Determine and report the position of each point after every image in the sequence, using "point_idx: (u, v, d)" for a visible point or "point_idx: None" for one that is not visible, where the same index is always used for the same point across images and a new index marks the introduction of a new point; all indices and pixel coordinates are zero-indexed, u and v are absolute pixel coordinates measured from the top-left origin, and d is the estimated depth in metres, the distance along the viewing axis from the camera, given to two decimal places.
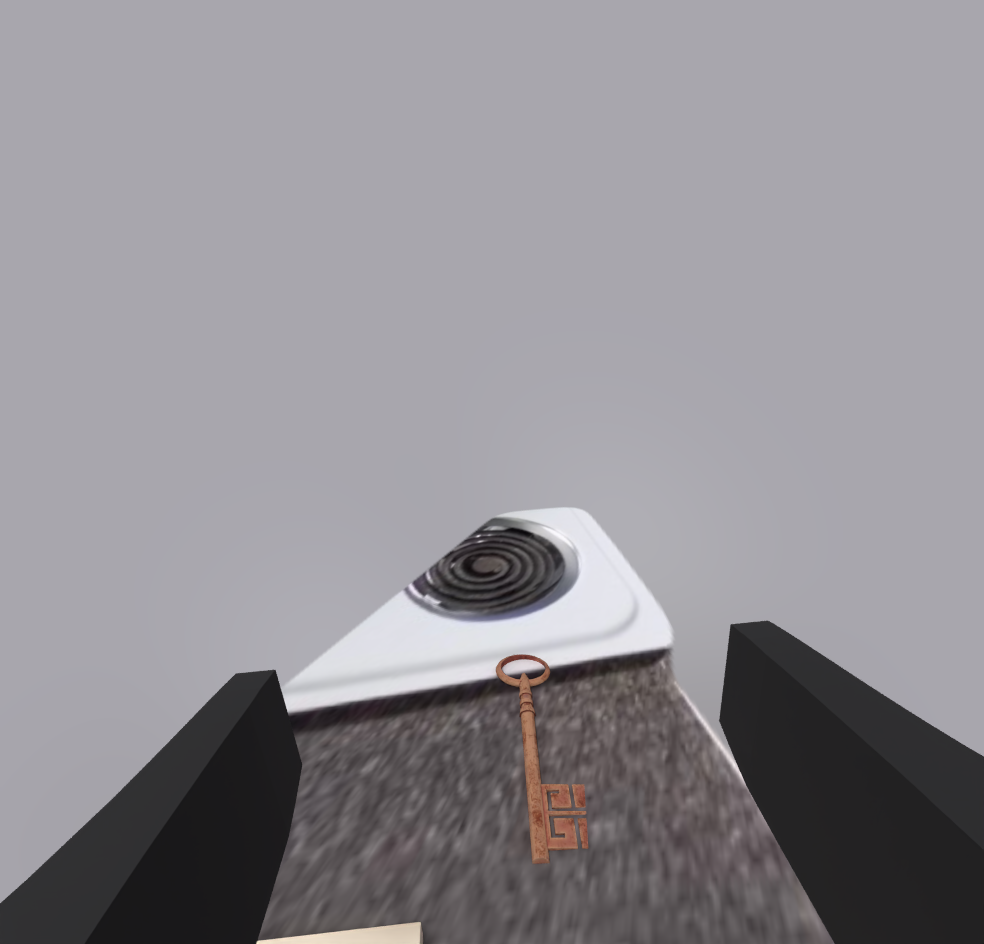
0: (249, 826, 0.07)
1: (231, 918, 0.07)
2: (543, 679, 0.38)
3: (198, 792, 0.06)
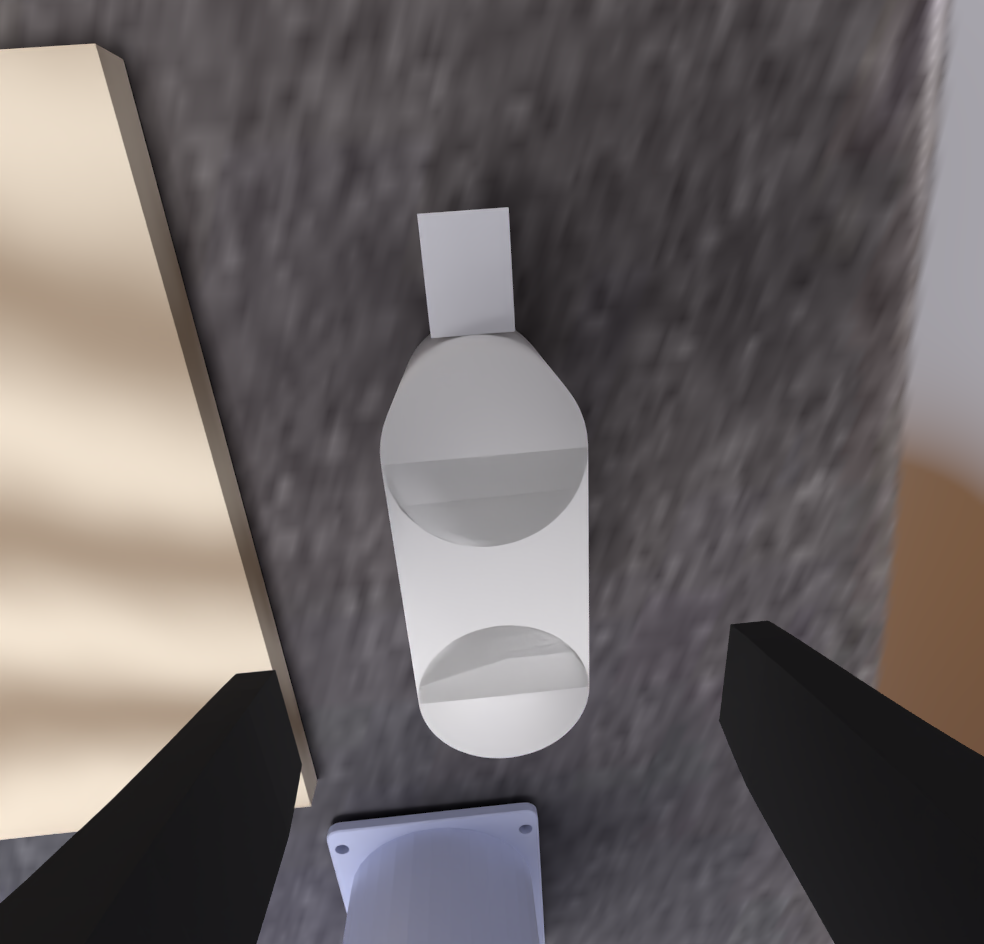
0: (249, 826, 0.07)
1: (231, 918, 0.07)
2: None
3: (198, 792, 0.06)
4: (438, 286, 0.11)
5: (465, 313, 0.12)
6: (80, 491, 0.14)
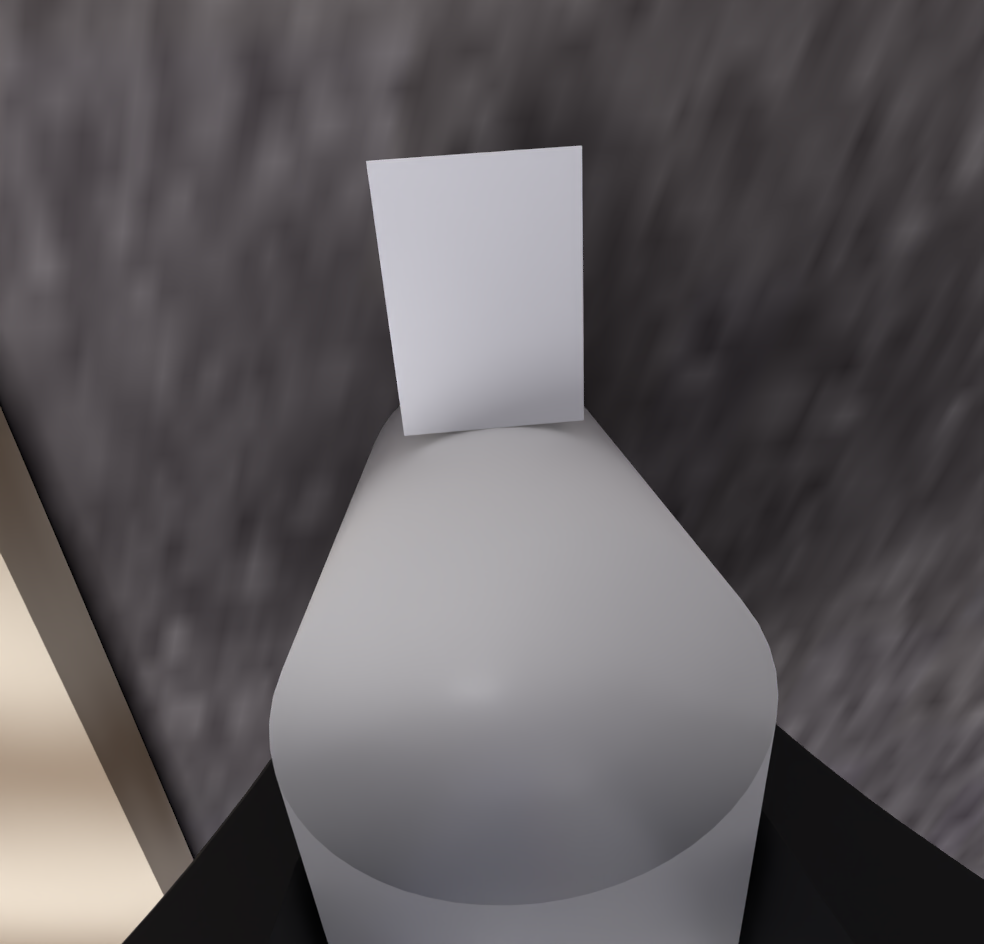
0: None
1: None
2: None
3: None
4: (419, 327, 0.05)
5: (478, 384, 0.05)
6: None
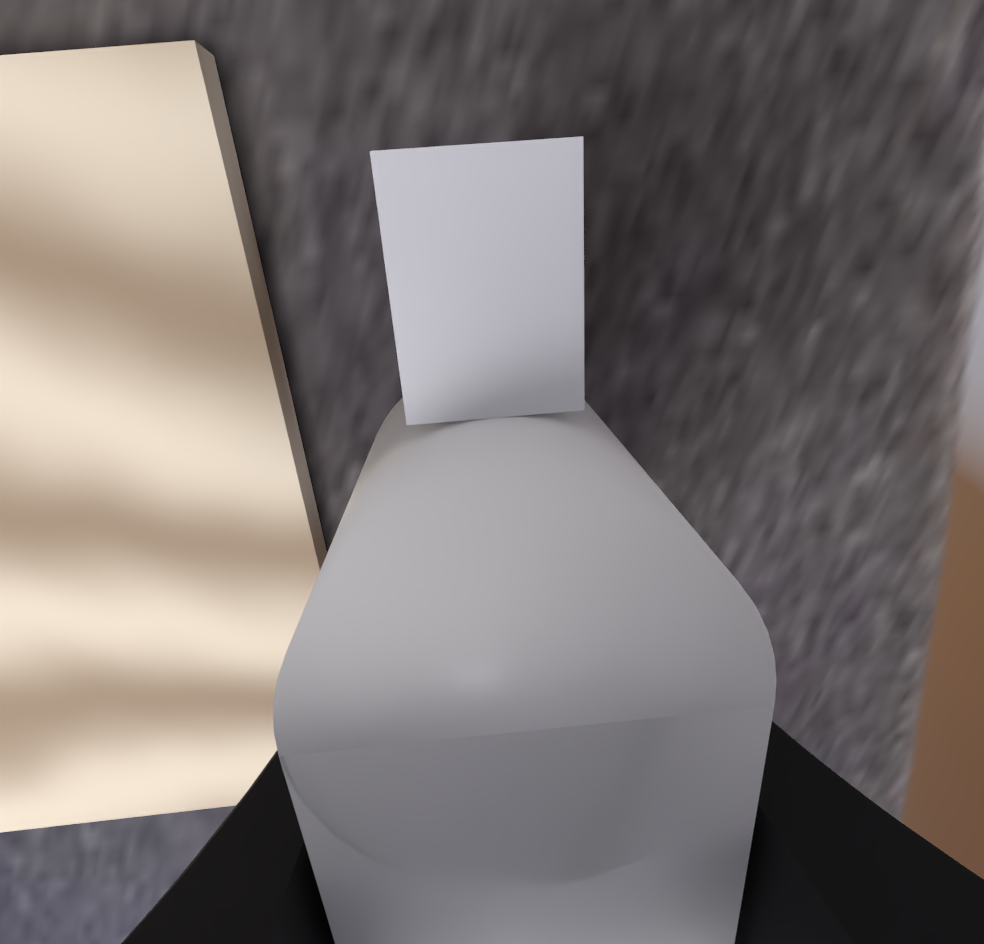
0: None
1: None
2: None
3: None
4: (422, 316, 0.05)
5: (480, 374, 0.05)
6: (161, 480, 0.15)
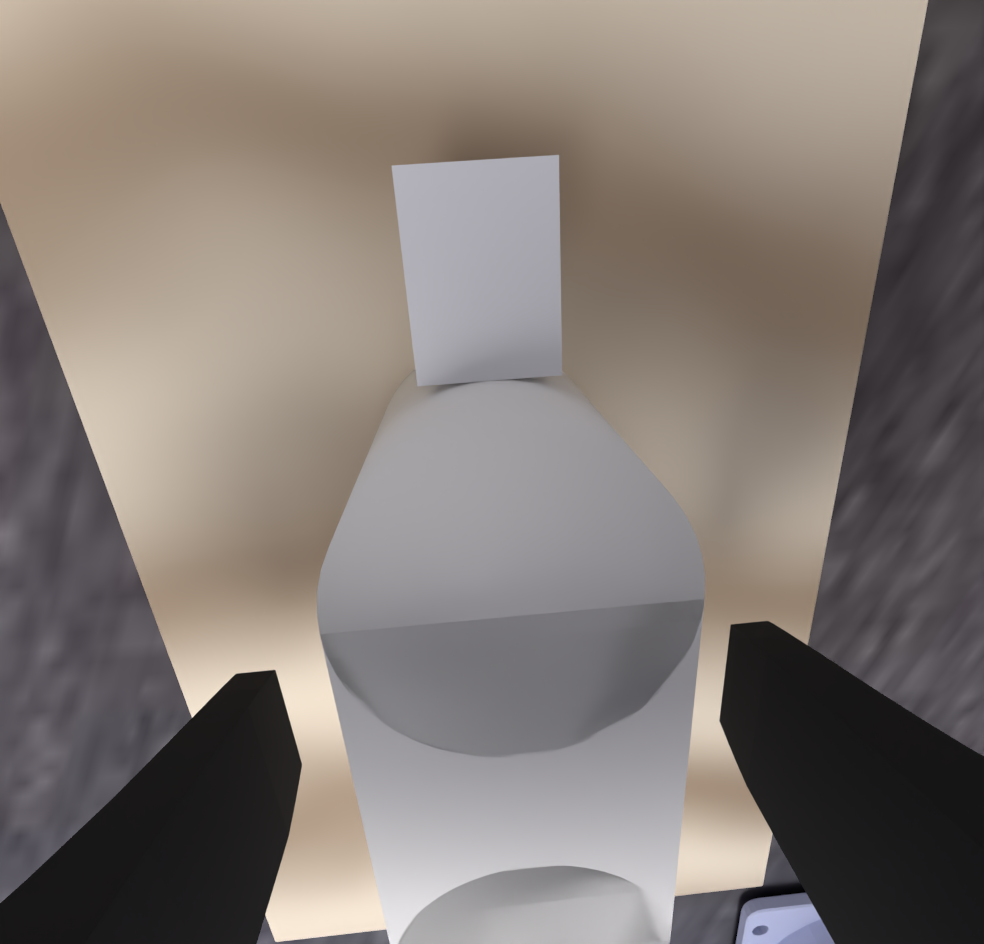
0: (249, 826, 0.07)
1: (231, 918, 0.07)
2: None
3: (198, 792, 0.06)
4: (430, 297, 0.06)
5: (477, 344, 0.07)
6: None
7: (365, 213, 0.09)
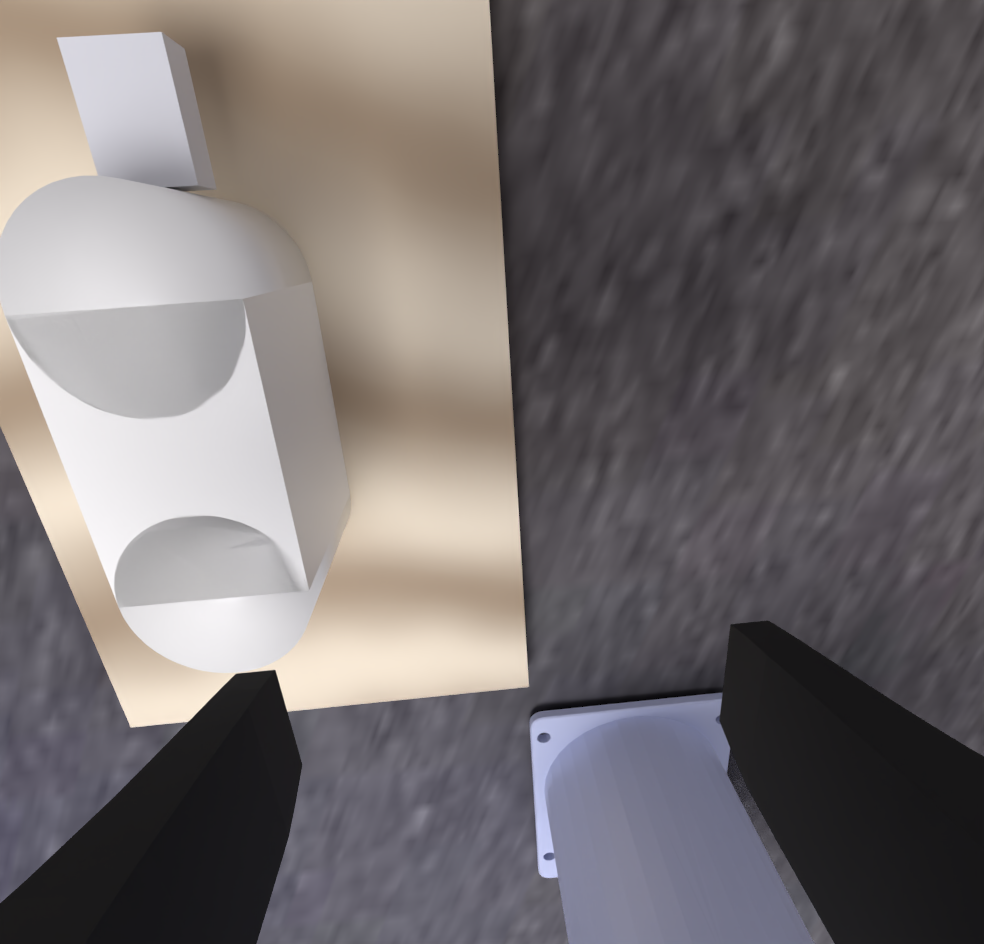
0: (249, 826, 0.07)
1: (231, 918, 0.07)
2: None
3: (198, 792, 0.06)
4: (99, 127, 0.10)
5: (136, 161, 0.10)
6: (375, 340, 0.15)
7: None
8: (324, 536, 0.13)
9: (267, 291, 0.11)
